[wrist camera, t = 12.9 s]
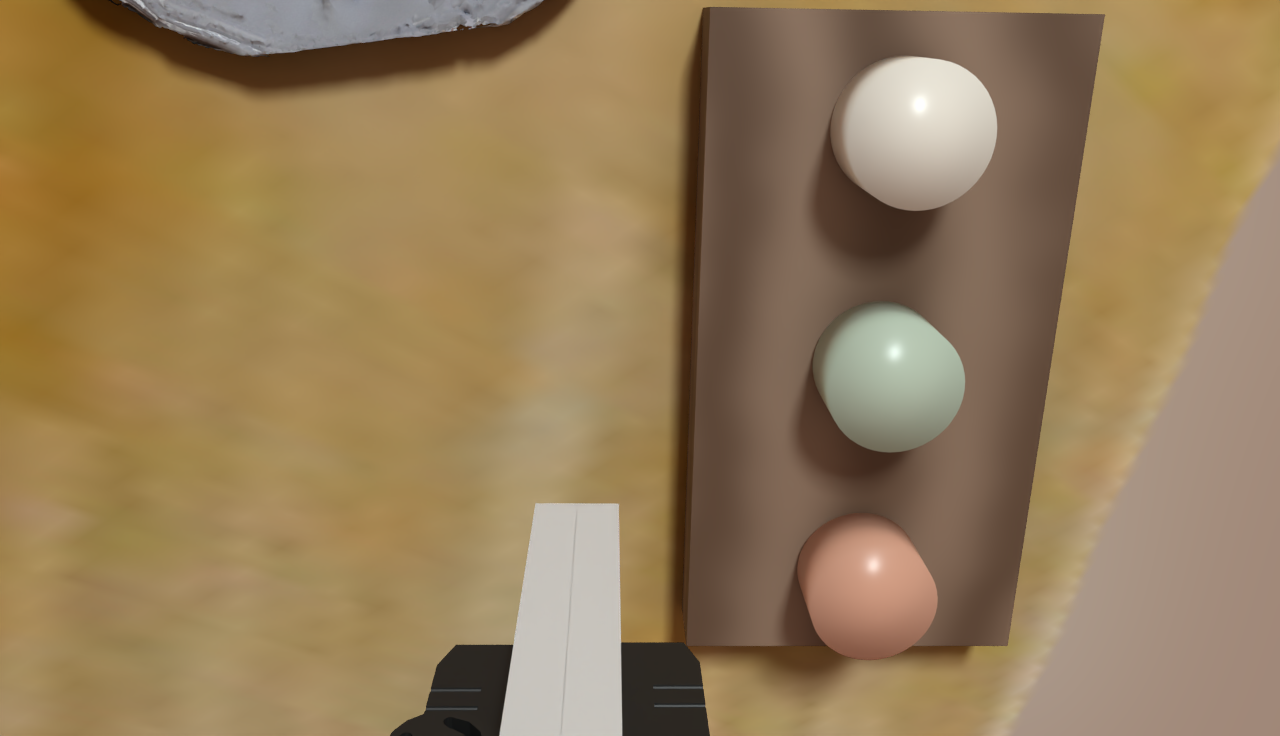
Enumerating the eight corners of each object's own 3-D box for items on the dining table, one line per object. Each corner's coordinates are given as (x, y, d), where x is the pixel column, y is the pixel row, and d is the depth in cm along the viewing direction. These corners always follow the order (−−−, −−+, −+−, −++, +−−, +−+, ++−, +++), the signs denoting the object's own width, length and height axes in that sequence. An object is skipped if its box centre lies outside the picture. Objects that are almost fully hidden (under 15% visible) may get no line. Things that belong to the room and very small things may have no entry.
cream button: (825, 195, 38) (842, 210, 35) (835, 54, 36) (854, 57, 34) (958, 197, 38) (987, 211, 35) (975, 56, 36) (1006, 59, 34)
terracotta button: (793, 618, 44) (805, 660, 41) (801, 512, 42) (815, 548, 39) (909, 618, 44) (930, 659, 41) (922, 513, 42) (944, 548, 39)
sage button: (808, 422, 41) (822, 452, 38) (817, 300, 39) (833, 322, 36) (932, 422, 41) (956, 452, 38) (947, 301, 39) (973, 323, 37)
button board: (682, 608, 47) (686, 645, 44) (703, 8, 39) (710, 7, 36) (983, 608, 48) (1007, 645, 45) (1069, 14, 39) (1104, 14, 36)
